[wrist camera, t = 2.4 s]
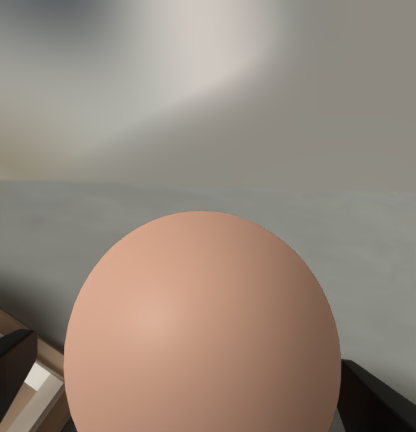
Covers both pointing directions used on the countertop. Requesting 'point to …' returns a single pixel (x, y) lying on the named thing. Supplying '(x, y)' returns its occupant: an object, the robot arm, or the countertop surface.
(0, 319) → the socket plinth
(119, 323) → the post
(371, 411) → the robot arm
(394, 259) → the countertop surface
